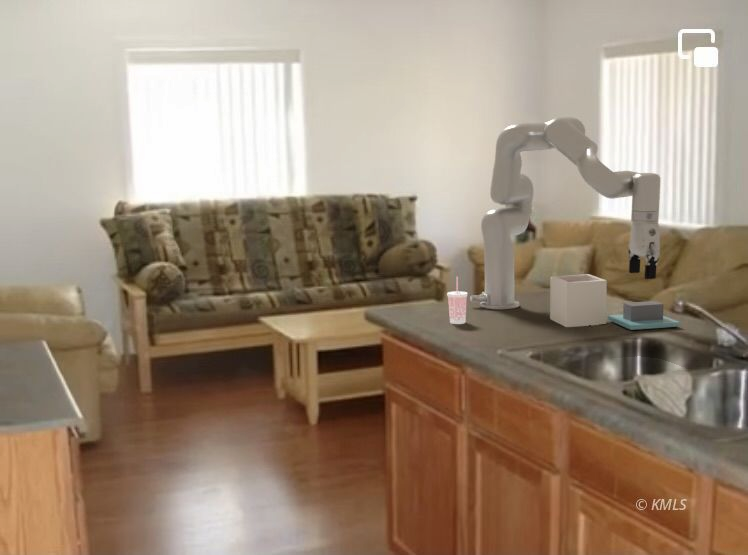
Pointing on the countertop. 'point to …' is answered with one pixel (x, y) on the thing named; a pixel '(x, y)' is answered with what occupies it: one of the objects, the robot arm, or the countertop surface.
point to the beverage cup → (457, 305)
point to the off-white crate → (578, 300)
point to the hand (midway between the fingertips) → (642, 275)
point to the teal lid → (643, 316)
